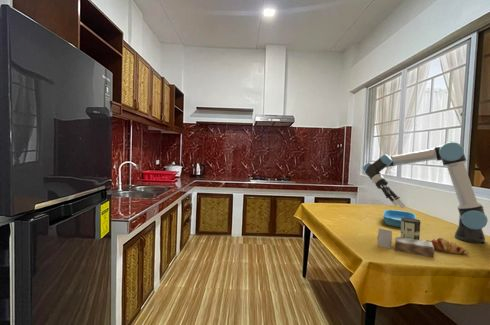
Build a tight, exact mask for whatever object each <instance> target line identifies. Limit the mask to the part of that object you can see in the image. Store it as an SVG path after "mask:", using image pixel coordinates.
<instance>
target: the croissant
mask: <svg viewBox="0 0 490 325" xmlns="http://www.w3.org/2000/svg"><path fill="white" fill-rule="evenodd" d="M426 241H429V242H432V244H433V247H434V251H439V252H443V253H447V254H448V253H449V254H455V255H456V254H458V255H460V254H461V255H467V254H470V251H469V250H468V249H466V248H465V247H463V246H460V245H458V244H457V243H456V242H453V241H449V240H448V239H446V238H442V237H439V238H437V239H432V240H428V239H427V240H426Z"/></svg>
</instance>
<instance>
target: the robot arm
mask: <svg viewBox="0 0 490 325" xmlns="http://www.w3.org/2000/svg"><path fill="white" fill-rule="evenodd" d="M428 161H436V162H437V161H441V162H442V166H444V167H446V168H447V171H448V175H449V176H450V180H451V183H452V185H453V186H452V187H453V189H454V191H455V195H456V198H457V201H458V204H459V205H458V206H457V210H458V213H459V216H458V226H457V229H456V231H455V233H454V238H456V239H457V238H458V240H461V241H463V240H464V242H469V243H474V242H476V243H477V244H482V243H481V242H485V243H486V237H485V234H484V231H483V229H484V228H485V227H486V226H487V224H488V220H489V219H488V216H487V215H486V214H485V211H484V206H483V205H482V204H481V203H479V202H478V201H477V197H476V195H475V194H476V193H475V192H474V189H473V186H472V183H471V182H472V181H471V180H470V177H469V174H468V171H467V167H466V165H465V163H466V162H467V158H466V156H465V153H464V147H463V146H462V145H461V144H460V143H458V142H457V141H456V142H455V141H448V142H444V143H443V144H441V145H438V146H434V147H433V148H430V149H424V150H420V151H413V152H408V153H407V152H406V153H402V154H401V153H400V154H396V155H389V154H386V153H385V154H383V155H381V156H380V157H379V158H377V160H375V161H374V162H368V163H366V164H364V166H362V170H363V172H364V173H365V175H366V176H368V177H369V179H370V180H371V182H372V184H374V185H375V186H376V188H377V189H379V190H381V191H382V193H383V194H384V196H385V198H386V199H388V200H389V202H391V203H392V204H393V206H394V207H397V206H399V207H400V208H401V209H404V208H406V204H405V203H404V202H403V201H402V200H401V196H398V195H397V194H396V193H395V192H394V190H392V189H391V188H390V187H389V186H388V184H389V182H388V181H387V180H386V179H385V177H384V175H382V174H381V171H383V170H384V169H385V168H390V167H395V166H401V165H403V166H404V165H409V164H416V163H421V162H428Z"/></svg>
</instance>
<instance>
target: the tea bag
mask: <svg viewBox="0 0 490 325" xmlns="http://www.w3.org/2000/svg"><path fill="white" fill-rule="evenodd" d="M392 233H393V231H392V230H389V229H384V228H378V232H377V241H376V242H377V243H376V244H377V245H378V246H377V247H380V246H383V247H382V248H385V247H387V248H386V249H389V248H390V249H391V248H392V244H393V242H392V241H393V240H392V239H393V237H392V236H393V235H392Z"/></svg>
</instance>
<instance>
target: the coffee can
mask: <svg viewBox="0 0 490 325" xmlns="http://www.w3.org/2000/svg"><path fill="white" fill-rule="evenodd" d="M420 233H421V220H419V219H417V218H416V219H413V218H401V227H400V237H404V238H410V239H416V240H420V236H421V234H420Z"/></svg>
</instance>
